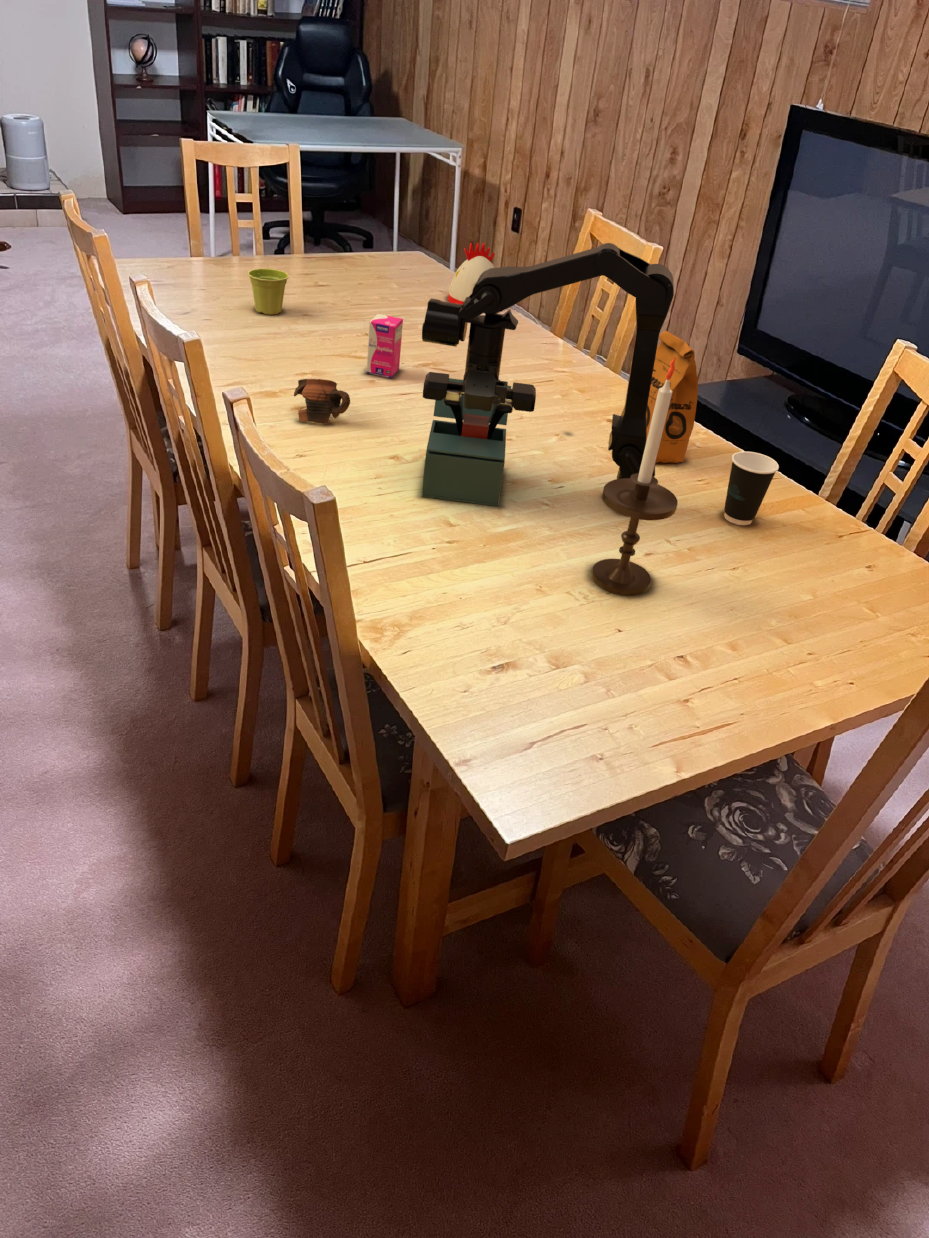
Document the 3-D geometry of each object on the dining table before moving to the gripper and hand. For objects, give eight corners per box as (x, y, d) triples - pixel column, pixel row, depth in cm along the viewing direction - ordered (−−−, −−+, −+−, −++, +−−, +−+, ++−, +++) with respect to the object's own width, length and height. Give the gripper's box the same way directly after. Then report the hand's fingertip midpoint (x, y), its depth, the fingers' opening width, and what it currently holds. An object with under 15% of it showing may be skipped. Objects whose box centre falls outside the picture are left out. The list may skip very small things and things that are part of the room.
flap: (438, 376, 171) (438, 377, 171) (433, 416, 171) (433, 416, 171) (511, 386, 171) (511, 386, 171) (506, 425, 171) (506, 425, 172)
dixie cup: (710, 521, 169) (727, 463, 163) (720, 503, 175) (736, 447, 169) (756, 534, 167) (775, 476, 160) (764, 516, 173) (782, 459, 167)
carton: (421, 496, 164) (426, 449, 160) (428, 461, 176) (433, 415, 171) (498, 506, 165) (505, 459, 160) (500, 470, 176) (506, 424, 171)
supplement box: (365, 374, 207) (368, 321, 200) (374, 365, 212) (377, 312, 205) (391, 379, 206) (395, 326, 200) (399, 370, 211) (403, 318, 204)
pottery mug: (283, 422, 184) (284, 377, 183) (308, 428, 193) (310, 386, 192) (339, 421, 179) (340, 376, 179) (363, 428, 188) (364, 384, 188)
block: (485, 450, 168) (488, 427, 165) (460, 447, 168) (462, 423, 165) (486, 440, 171) (489, 416, 169) (461, 437, 171) (464, 413, 169)
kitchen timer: (441, 293, 260) (447, 234, 252) (490, 294, 264) (497, 236, 256) (456, 310, 250) (463, 249, 241) (507, 311, 254) (515, 251, 245)
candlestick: (609, 553, 156) (658, 338, 136) (668, 581, 151) (728, 362, 131) (571, 577, 149) (617, 353, 129) (632, 607, 143) (689, 379, 124)
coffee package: (644, 465, 185) (671, 352, 172) (619, 437, 194) (643, 328, 182) (691, 465, 187) (721, 353, 175) (664, 437, 197) (691, 329, 185)
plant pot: (243, 305, 235) (243, 268, 230) (282, 304, 238) (282, 267, 234) (254, 318, 228) (253, 280, 223) (293, 317, 232) (293, 279, 227)
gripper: (423, 360, 153) (415, 451, 162) (541, 375, 153) (527, 465, 162) (429, 337, 162) (421, 424, 171) (541, 351, 163) (527, 438, 172)
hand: (473, 438), depth 169 cm, fingers closed on block, 4 cm apart
